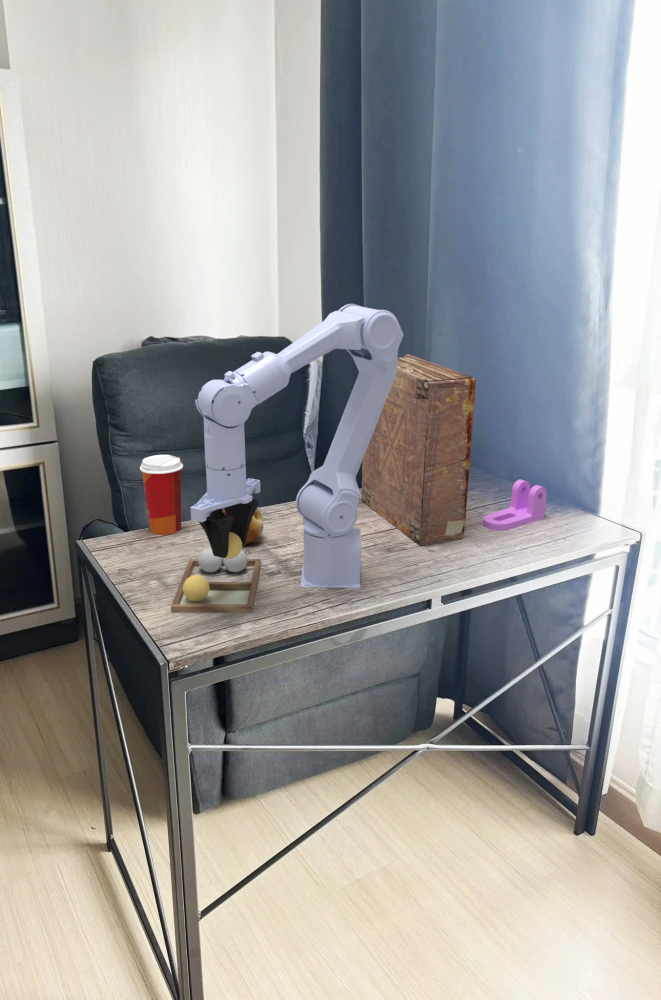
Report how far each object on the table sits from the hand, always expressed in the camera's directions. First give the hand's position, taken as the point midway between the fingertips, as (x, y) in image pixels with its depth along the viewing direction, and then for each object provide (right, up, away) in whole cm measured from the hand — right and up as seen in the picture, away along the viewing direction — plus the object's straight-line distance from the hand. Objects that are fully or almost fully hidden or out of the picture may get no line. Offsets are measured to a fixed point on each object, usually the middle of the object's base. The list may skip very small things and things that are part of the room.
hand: (229, 550), depth 120 cm
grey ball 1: (-5, -4, +12) cm, 14 cm away
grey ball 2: (0, -4, +12) cm, 13 cm away
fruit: (-1, 0, +25) cm, 25 cm away
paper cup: (-16, +1, +30) cm, 34 cm away
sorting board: (-3, -7, +7) cm, 10 cm away
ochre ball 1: (-5, -8, +3) cm, 10 cm away
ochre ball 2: (0, -1, 0) cm, 1 cm away
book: (+31, +4, +37) cm, 48 cm away
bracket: (+50, +3, +36) cm, 62 cm away
